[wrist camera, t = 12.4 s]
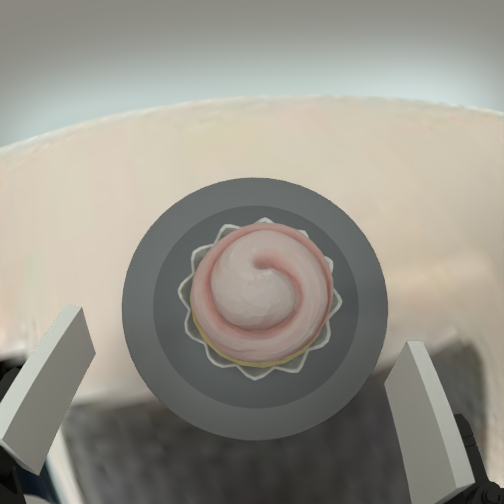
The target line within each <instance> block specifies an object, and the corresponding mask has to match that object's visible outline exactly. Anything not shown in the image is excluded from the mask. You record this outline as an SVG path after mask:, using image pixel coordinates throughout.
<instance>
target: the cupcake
mask: <svg viewBox="0 0 504 504" xmlns="http://www.w3.org/2000/svg"><path fill="white" fill-rule="evenodd" d="M191 266H192V274H191V275H189V276H188V277H187V278H186V279H185V280H184V281H183V282H182V283H181V285H180V286H179V288H178V294H179V297H180V299H181V300H182V302H183V303H184V305H185V306H186V308H187V309H188V313H187V316H186V319H185V332H186V333H187V334H188V335H189V336H190V337H191V339H193V340H195V341H198V342H200V343H202V344H204V346H205V350H206V354H207V357H208V359H209V360H210V361H211V362H212V363H213V364H214V365H217V366H219V367H222V368H225V367H235V366H236V367H237V368H238V369H239V370H240V371H241V372H242V373H243V374H244V375H245V376H247V377H249V378H251V379H252V380H254V381H255V380H258V379H260V378H263V377H265V376H266V375H267V374H269V373H270V372H271V371H273V370H274V369H278V370H282V371H286V372H290V373H297V372H299V371H300V370H301V368H302V367H303V364H304V362H305V360H306V357H307V355H308V352H309V351H312V350H315V349H318V348H321V347H323V346H324V345H325V344H326V343H328V342H329V338H330V335H331V331H330V324H329V319H330V318H331V317H332V316H333V315H334V313H335V312H336V311H337V310H338V309H339V308H340V306H341V304H342V299H341V297H340V295H339V294H338V293H337V291H336V290H335V289H334V287H333V277H332V271H333V261H332V260H331V259H330V258H328V257H326V256H324V255H323V254H322V252H321V251H320V250H319V248H318V247H317V246H316V245H315V244H314V242H313V241H311V240H310V239H309V237H308V235H307V233H306V232H305V231H304V230H296V229H294V228H291V227H288V226H286V225H283V224H277V223H273V222H272V221H271V220H270V219H268V218H266V217H265V218H262V219H260V220H258V221H257V222H255V223H254V224H251V225H247V226H244V227H239V226H235V225H231V224H225V225H224V226H223V227H222V228H221V229H220V231H219V233H218V235H217V237H216V240H215V242H214V244H210V245H206V246H202V247H199V248H197V249H196V250H194V251H193V253H192V257H191Z"/></svg>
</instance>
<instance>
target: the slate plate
mask: <svg viewBox="0 0 504 504" xmlns="http://www.w3.org/2000/svg"><path fill="white" fill-rule="evenodd" d="M265 217H266V218H268V219H270V220H271V221H272V222H273V223H277V224H283V225H286V226H288V227H291V228H294V229H296V230H304V231H305V232H306V233H307V235H308V237H309V239H310V240H311V241H313V242H314V244H315V245H316V246H317V247H318V248H319V250H320V251H321V252H322V254H323V255H324V256H326V257H328V258H330V259H331V260H332V261H333V271H332V277H333V287H334V289H335V290H336V291H337V293H338V294H339V295H340V297H341V299H342V304H341V306H340V308H339V309H338V310H337V311H336V312H335V313H334V315H333V316H332V317H331V318H330V319H329V324H330V331H331V335H330V338H329V342H328V343H326V344H325V345H324V346H323V347H321V348H318V349H315V350H312V351H309V352H308V355H307V357H306V360H305V362H304V364H303V367H302V368H301V370H300V371H299V372H297V373H290V372H286V371H282V370H278V369H274V370H273V371H271V372H270V373H269V374H267V375H266V376H265V377H263V378H260V379H258V380H255V381H254V380H252V379H251V378H249V377H247V376H245V375H244V374H243V373H242V372H241V371H240V370H239V369H238V368H237V367H236V366H235V367H225V368H222V367H219V366H217V365H214V364H213V363H212V362H211V361H210V360H209V359H208V357H207V354H206V350H205V346H204V344H202V343H200V342H198V341H195V340H193V339H191V337H190V336H189V335H188V334H187V333H186V332H185V319H186V316H187V313H188V309H187V308H186V306H185V305H184V303H183V302H182V300H181V299H180V297H179V294H178V288H179V286H180V285H181V283H182V282H183V281H184V280H185V279H186V278H187V277H188V276H189V275H191V274H192V266H191V257H192V253H193V251H194V250H196V249H197V248H199V247H202V246H206V245H210V244H214V242H215V240H216V237H217V235H218V233H219V231H220V229H221V228H222V227H223V226H224V225H225V224H231V225H235V226H239V227H244V226H247V225H251V224H254V223H255V222H257V221H258V220H260V219H262V218H265ZM387 318H388V301H387V291H386V285H385V280H384V276H383V273H382V270H381V266H380V263H379V261H378V259H377V257H376V254H375V252H374V250H373V248H372V246H371V245H370V243H369V241H368V240H367V238H366V236H365V235H364V233H363V232H362V231H361V230H360V228H359V227H358V226H357V225H356V223H355V222H354V221H353V220H352V219H351V218H350V217H349V216H348V215H347V214H346V213H345V212H344V211H343V210H341V209H340V208H339V207H338V206H336V205H335V204H334V203H332V202H331V201H330V200H328V199H326V198H325V197H323V196H321V195H319V194H318V193H316V192H314V191H312V190H309V189H307V188H305V187H302V186H300V185H297V184H293V183H290V182H286V181H282V180H276V179H270V178H240V179H232V180H228V181H223V182H218V183H215V184H213V185H210V186H207V187H204V188H202V189H200V190H197V191H195V192H193V193H191V194H189V195H188V196H186V197H184V198H183V199H181V200H180V201H178V202H177V203H175V204H174V205H173V206H172V207H170V208H169V209H168V210H167V211H166V212H164V213H163V214H162V215H161V216H160V217H159V218H158V219H157V221H156V222H155V223H154V224H153V225H152V226H151V227H150V229H149V230H148V231H147V233H146V234H145V236H144V237H143V238H142V240H141V242H140V243H139V245H138V247H137V249H136V251H135V253H134V255H133V257H132V260H131V263H130V265H129V268H128V271H127V274H126V279H125V283H124V288H123V298H122V321H123V328H124V334H125V339H126V343H127V346H128V349H129V352H130V355H131V358H132V360H133V362H134V364H135V366H136V368H137V370H138V372H139V374H140V376H141V377H142V379H143V380H144V382H145V383H146V385H147V386H148V388H149V389H150V390H151V391H152V392H153V394H154V395H155V396H156V397H157V398H158V399H159V400H160V401H161V402H162V403H163V404H164V405H165V406H166V407H167V408H169V409H170V410H171V411H172V412H173V413H175V414H176V415H177V416H179V417H180V418H182V419H184V420H185V421H187V422H188V423H190V424H192V425H194V426H196V427H198V428H200V429H203V430H205V431H207V432H210V433H213V434H216V435H220V436H223V437H227V438H234V439H240V440H270V439H278V438H283V437H287V436H291V435H294V434H298V433H301V432H303V431H306V430H308V429H310V428H313V427H315V426H317V425H319V424H320V423H322V422H324V421H325V420H327V419H329V418H330V417H332V416H333V415H334V414H336V413H337V412H338V411H339V410H341V409H342V408H343V407H344V406H346V405H347V404H348V402H349V401H350V400H351V399H352V398H353V397H354V396H355V395H356V394H357V393H358V392H359V390H360V389H361V388H362V386H363V385H364V384H365V382H366V381H367V379H368V378H369V376H370V374H371V372H372V370H373V369H374V367H375V365H376V363H377V360H378V357H379V355H380V352H381V349H382V347H383V342H384V338H385V334H386V328H387Z"/></svg>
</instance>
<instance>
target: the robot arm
mask: <svg viewBox="0 0 504 504" xmlns="http://www.w3.org/2000/svg"><path fill="white" fill-rule="evenodd" d="M95 354H96V353H95V350H94V347H93V344H92V340H91V337H90V334H89V331H88V327H87V324H86V320H85V317H84V313H83V309H82V307H80V306H76V305H71V304H66V306H65V307H64V308H63V310H62V311H61V312H60V314H59V315H58V316H57V318H56V319H55V321H54V322H53V323H52V325H51V326H50V328H49V329H48V330H47V332H46V333H45V335H44V336H43V337H42V339H41V340H40V342H39V343H38V345H37V346H36V348H35V349H34V351H33V352H32V354H31V355H30V357H29V358H28V360H27V361H26V363H25V364H24V366H23V367H22V369H21V370H20V369H18V368H15V367H14V368H13V369H12V370H10V371H9V372H8V373H7V374H5V375H4V377H3V379H2V380H1V382H0V504H26V501H25V498H24V495H23V492H22V489H21V486H20V482H19V479H18V476H17V472H16V470H15V467H14V463H15V461H16V462H17V463H18V464H19V465H20V466H21V467H22V468H24V469H26V470H28V471H30V472H32V473H34V474H36V475H38V476H39V473H40V471H41V468H42V466H43V463H44V461H45V459H46V456H47V454H48V452H49V449H50V447H51V445H52V442H53V440H54V438H55V436H56V433H57V431H58V429H59V427H60V425H61V422H62V420H63V418H64V416H65V414H66V412H67V410H68V407H69V405H70V403H71V401H72V399H73V397H74V395H75V393H76V391H77V389H78V387H79V385H80V383H81V381H82V379H83V377H84V375H85V373H86V371H87V369H88V367H89V365H90V363H91V361H92V360H93V358H94V356H95ZM384 386H385V389H386V393H387V397H388V400H389V404H390V408H391V412H392V416H393V420H394V424H395V428H396V432H397V436H398V440H399V444H400V449H401V453H402V458H403V462H404V467H405V471H406V476H407V481H408V486H409V492H410V497H411V502H412V504H504V488H500V486H499V485H498V484H496V483H495V482H491V481H489V479H488V477H487V474H486V471H485V468H484V465H483V462H482V459H481V456H480V453H479V450H478V447H477V446H476V441H475V438H474V437H473V433H472V430H471V428H470V425H469V423H468V422H467V420H466V419H465V418H464V417H463V415H462V414H456V415H453V413H452V411H451V408H450V405H449V403H448V400H447V398H446V395H445V393H444V390H443V388H442V385H441V383H440V380H439V378H438V375H437V373H436V371H435V368H434V366H433V364H432V361H431V359H430V357H429V354H428V352H427V350H426V348H425V346H424V343H423V341H407V342H406V344H405V346H404V348H403V350H402V352H401V354H400V356H399V357H398V359H397V361H396V363H395V365H394V367H393V369H392V370H391V372H390V374H389V376H388V378H387V379H386V381H385V383H384Z"/></svg>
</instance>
